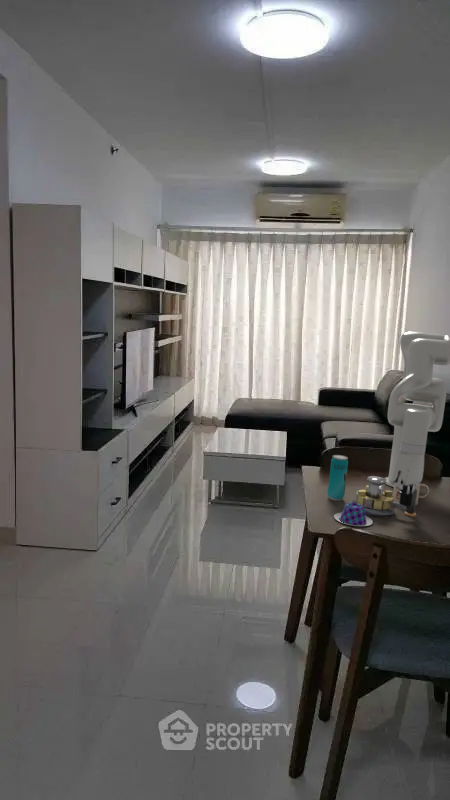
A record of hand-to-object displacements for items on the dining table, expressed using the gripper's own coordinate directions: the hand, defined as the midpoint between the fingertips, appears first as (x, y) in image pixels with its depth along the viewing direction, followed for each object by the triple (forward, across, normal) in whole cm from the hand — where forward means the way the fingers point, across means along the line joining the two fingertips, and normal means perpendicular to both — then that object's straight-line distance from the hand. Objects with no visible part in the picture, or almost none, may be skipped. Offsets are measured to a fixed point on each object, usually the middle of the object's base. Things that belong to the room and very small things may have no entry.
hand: (405, 504), depth 193 cm
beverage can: (+6, +2, -26) cm, 27 cm away
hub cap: (+6, 0, -12) cm, 13 cm away
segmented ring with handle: (+3, -2, -8) cm, 9 cm away
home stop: (+6, -8, -3) cm, 11 cm away
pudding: (+6, +14, -9) cm, 17 cm away
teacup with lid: (+6, -20, -10) cm, 23 cm away
